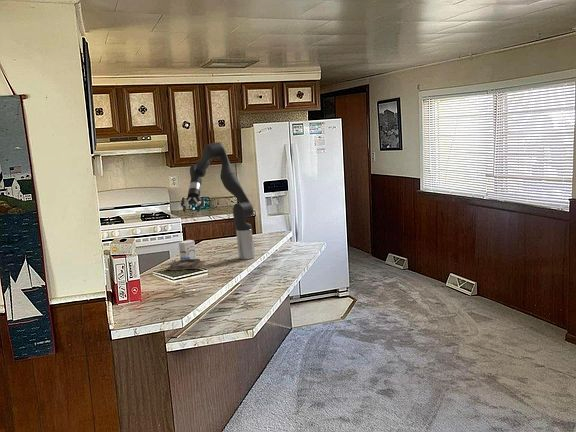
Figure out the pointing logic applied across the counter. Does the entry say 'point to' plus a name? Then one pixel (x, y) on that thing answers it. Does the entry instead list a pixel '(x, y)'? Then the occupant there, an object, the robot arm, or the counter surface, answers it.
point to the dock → (185, 264)
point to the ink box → (187, 249)
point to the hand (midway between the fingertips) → (191, 211)
